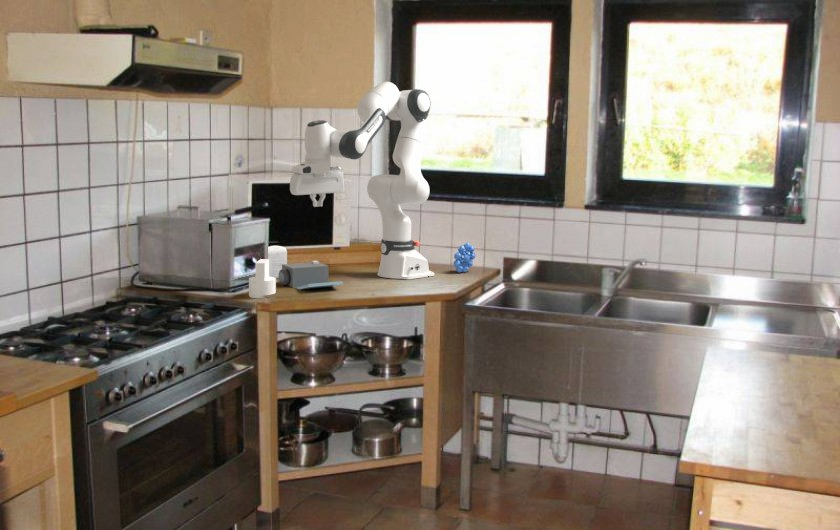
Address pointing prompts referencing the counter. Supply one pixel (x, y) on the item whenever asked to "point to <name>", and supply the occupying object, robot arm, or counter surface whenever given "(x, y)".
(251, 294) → the base with upright slab
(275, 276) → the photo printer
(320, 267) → the camera body
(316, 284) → the side door
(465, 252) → the grapes
